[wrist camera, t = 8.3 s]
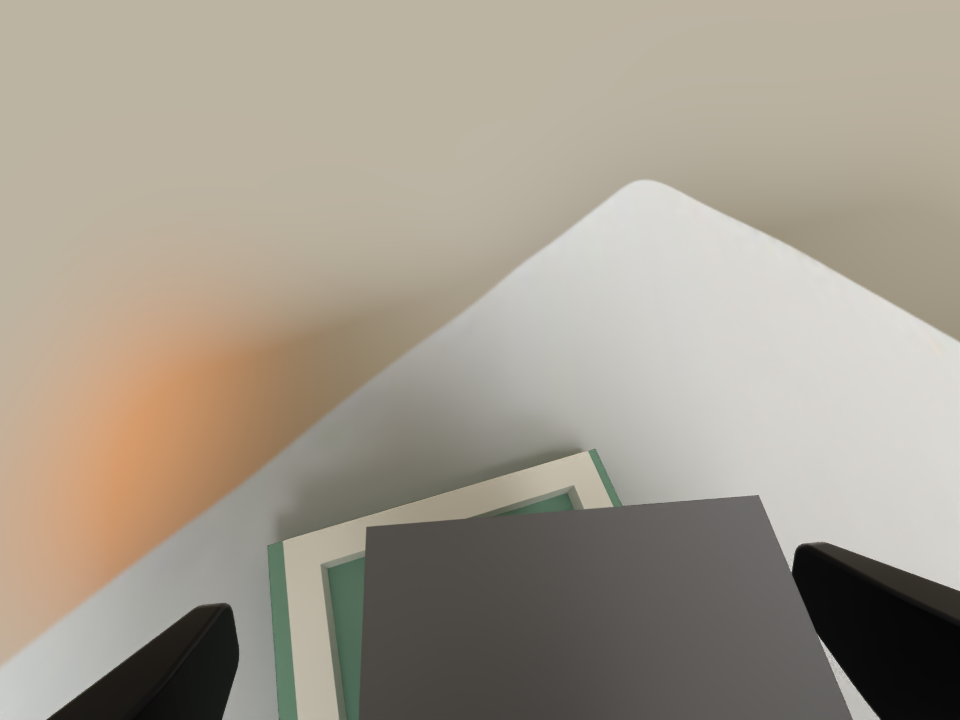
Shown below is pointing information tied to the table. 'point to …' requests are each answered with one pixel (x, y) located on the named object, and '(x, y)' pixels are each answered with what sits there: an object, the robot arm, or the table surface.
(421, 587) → the block
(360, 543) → the green flat piece
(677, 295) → the table surface
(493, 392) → the table surface
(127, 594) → the table surface
